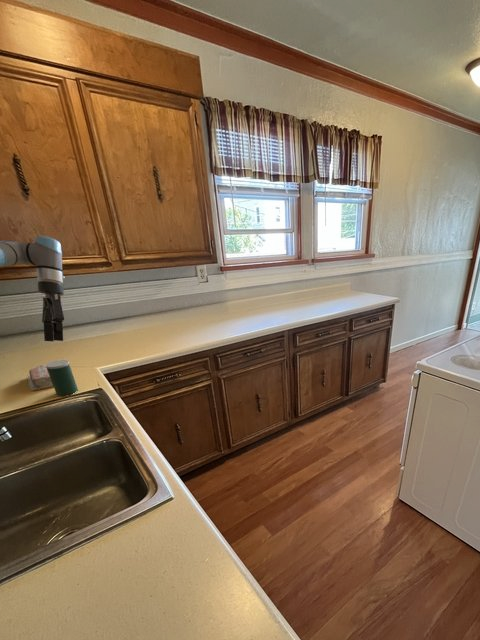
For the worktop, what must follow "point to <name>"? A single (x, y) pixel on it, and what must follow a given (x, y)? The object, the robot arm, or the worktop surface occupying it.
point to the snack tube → (62, 377)
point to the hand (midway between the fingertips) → (53, 341)
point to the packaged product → (39, 378)
